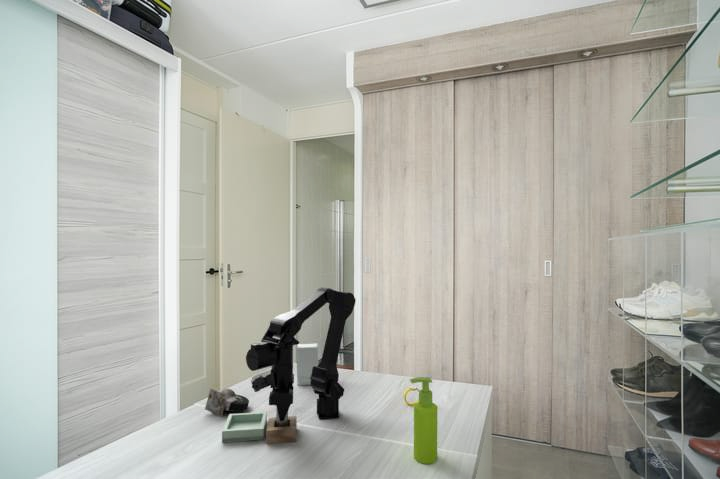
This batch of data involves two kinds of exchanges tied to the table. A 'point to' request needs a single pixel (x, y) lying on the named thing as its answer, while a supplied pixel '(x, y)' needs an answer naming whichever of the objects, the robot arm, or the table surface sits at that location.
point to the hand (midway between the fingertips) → (282, 417)
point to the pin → (281, 423)
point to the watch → (412, 388)
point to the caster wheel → (225, 401)
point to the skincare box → (306, 362)
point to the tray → (244, 427)
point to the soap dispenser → (425, 424)
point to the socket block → (281, 431)
